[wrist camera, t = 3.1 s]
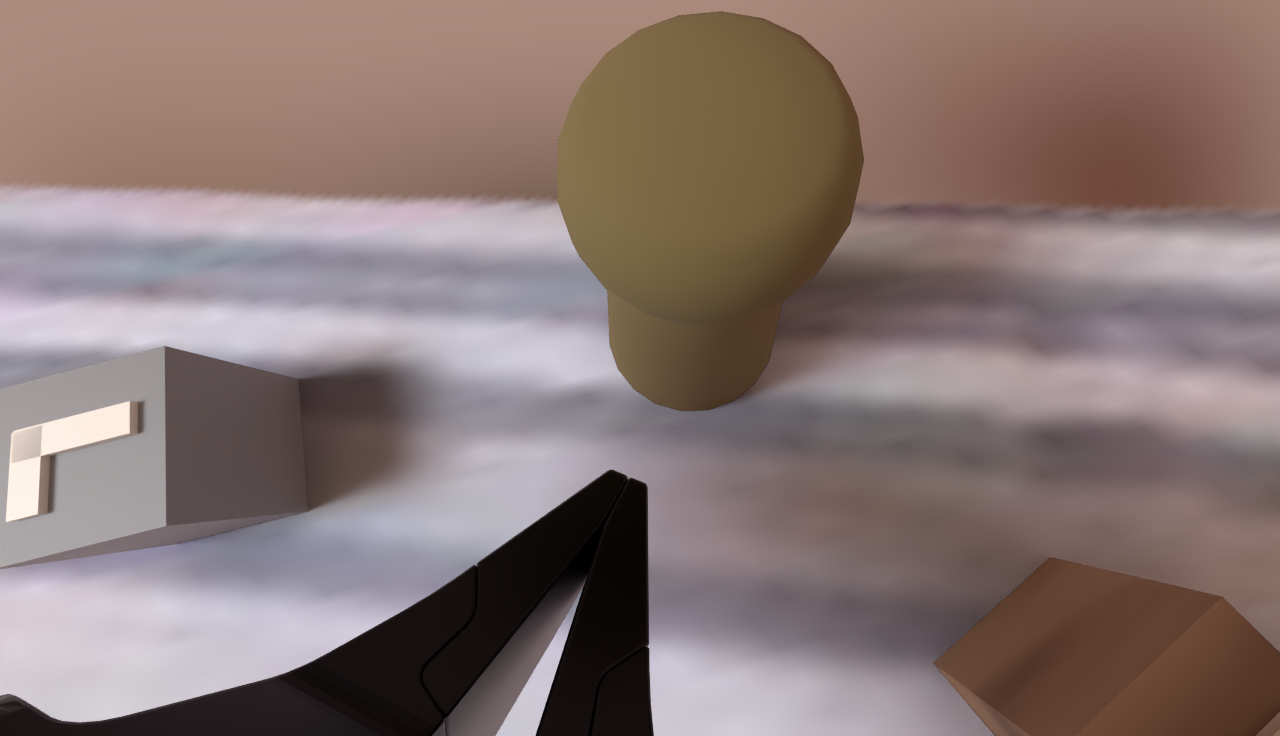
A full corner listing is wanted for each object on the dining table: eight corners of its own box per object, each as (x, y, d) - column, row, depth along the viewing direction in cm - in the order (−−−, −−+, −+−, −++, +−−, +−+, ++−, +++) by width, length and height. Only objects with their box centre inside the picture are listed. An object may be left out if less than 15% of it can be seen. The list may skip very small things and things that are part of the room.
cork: (719, 226, 18) (778, -120, 8) (807, 359, 17) (1028, 168, 6) (580, 301, 18) (440, 54, 7) (658, 442, 17) (623, 390, 6)
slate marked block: (310, 511, 17) (158, 526, 12) (179, 543, 17) (-25, 572, 12) (300, 379, 18) (157, 344, 13) (177, 411, 19) (-10, 387, 14)
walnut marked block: (1185, 699, 14) (1467, 826, 9) (1062, 816, 14) (1286, 1017, 9) (1048, 556, 15) (1233, 599, 10) (931, 661, 15) (1062, 759, 10)
